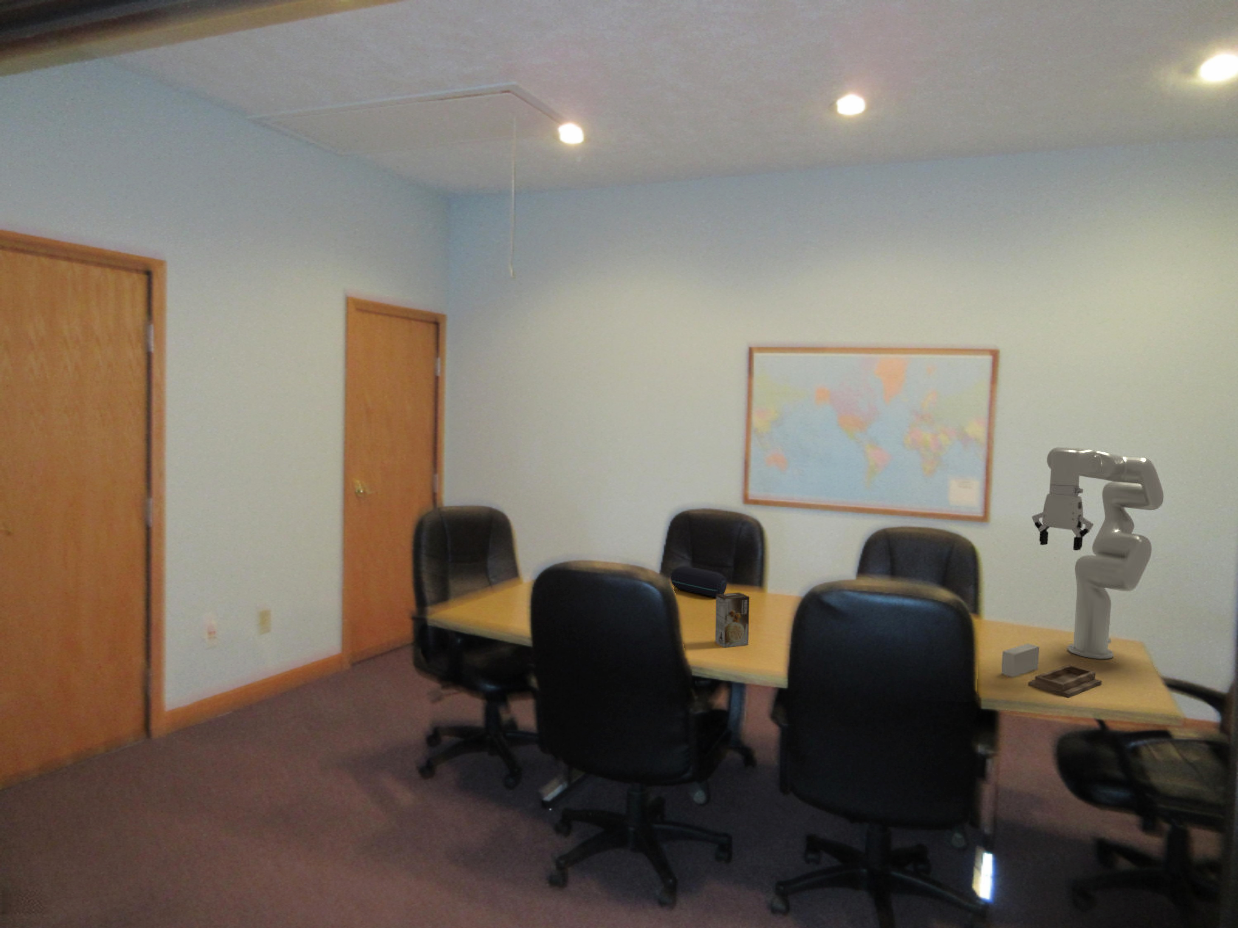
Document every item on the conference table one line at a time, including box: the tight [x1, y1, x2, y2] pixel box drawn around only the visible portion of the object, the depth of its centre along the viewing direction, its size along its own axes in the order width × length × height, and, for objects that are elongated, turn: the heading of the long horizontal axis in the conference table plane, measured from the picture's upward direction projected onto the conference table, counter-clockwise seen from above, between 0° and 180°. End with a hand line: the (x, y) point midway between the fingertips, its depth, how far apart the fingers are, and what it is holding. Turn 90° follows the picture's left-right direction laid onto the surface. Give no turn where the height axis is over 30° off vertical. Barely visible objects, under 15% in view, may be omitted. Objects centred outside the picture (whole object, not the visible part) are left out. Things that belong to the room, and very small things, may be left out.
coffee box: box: [714, 592, 750, 648], centre depth 253 cm, size 9×6×16 cm
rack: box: [1027, 664, 1103, 698], centre depth 222 cm, size 19×11×3 cm, turn 125°
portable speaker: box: [670, 565, 728, 599], centre depth 320 cm, size 25×10×10 cm, turn 46°
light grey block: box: [1001, 643, 1040, 678], centre depth 232 cm, size 14×4×7 cm, turn 125°
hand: (1060, 547), depth 235 cm, fingers open, 9 cm apart
